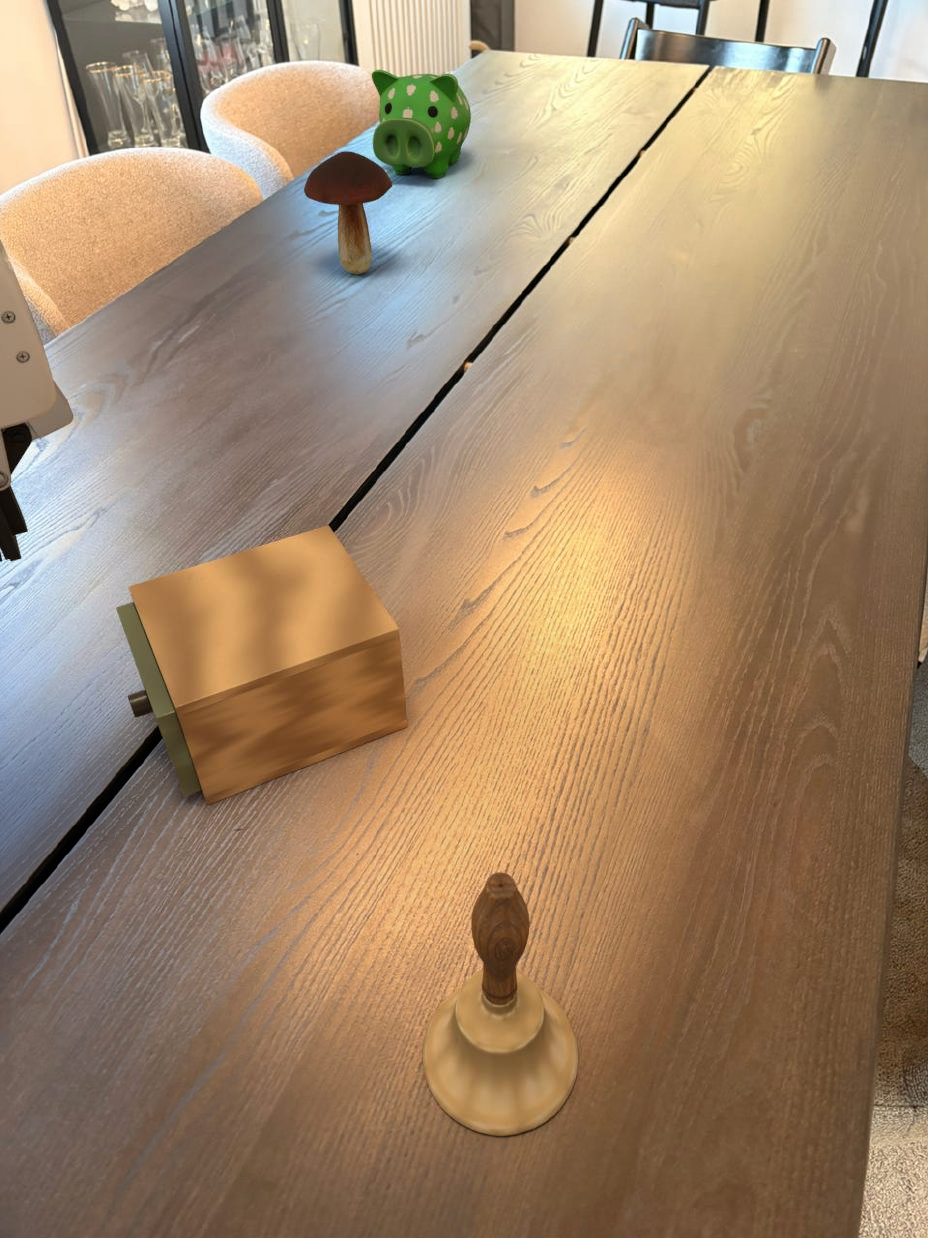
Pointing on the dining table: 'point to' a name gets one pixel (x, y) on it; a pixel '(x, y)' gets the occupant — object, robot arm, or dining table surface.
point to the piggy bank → (420, 122)
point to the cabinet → (273, 659)
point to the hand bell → (500, 1030)
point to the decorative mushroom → (349, 202)
